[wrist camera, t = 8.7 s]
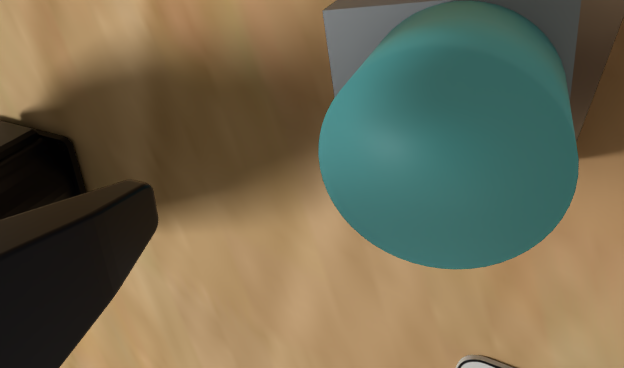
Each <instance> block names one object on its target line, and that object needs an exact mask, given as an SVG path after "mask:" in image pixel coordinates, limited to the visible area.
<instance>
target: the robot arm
mask: <svg viewBox="0 0 624 368" xmlns="http://www.w3.org/2000/svg"><path fill="white" fill-rule="evenodd" d="M157 225H158V214H157V208H156V203H155V197H154V192H153V189H152V187H151V186H150V185H149V184H147V183H144V182H140V181H136V180H125V181H122V182H119V183H116V184H113V185H109V186H106V187H103V188H100V189H97V190H94V191H90V192H87V193H86V191H85V187H84V183H83V180H82V176H81V173H80V169H79V165H78V162H77V158H76V154H75V151H74V147H73V144H72V142H71V141H70V140H69V139H68V138H66V137H64V136H60V135H56V134H52V133H48V132H43V131H39V130H35V129H32V128H28V127H24V126H20V125H16V124H12V123H8V122H4V121H0V368H59V367H60V366H61V365H62V364H63V362H64V361H65V360H66V358H67V357H68V356H69V355H70V353H71V352H72V351H73V349H74V348H75V347H76V346H77V344H78V343H79V342H80V340H81V339H82V338H83V337H84V335H85V334H86V333H87V331H88V330H89V329H90V328H91V326H92V325H93V324H94V322H95V321H96V320H97V319H98V317H99V316H100V315H101V313H102V312H103V311H104V309H105V308H106V307H107V306H108V304H109V303H110V301H111V300H112V299H113V297H114V296H115V295H116V293H117V292H118V290H119V289H120V287H121V286H122V284H123V282H124V281H125V279H126V278H127V276H128V274H129V273H130V271H131V270H132V268H133V266H134V265H135V263H136V262H137V260H138V258H139V257H140V255H141V254H142V252H143V250H144V249H145V247H146V246H147V244H148V242H149V241H150V239H151V238H152V236H153V234H154V233H155V231H156V229H157Z"/></svg>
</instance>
